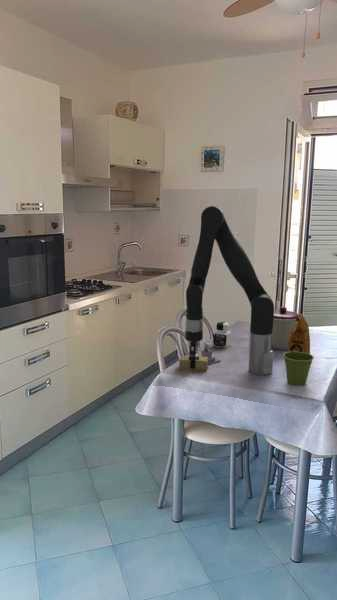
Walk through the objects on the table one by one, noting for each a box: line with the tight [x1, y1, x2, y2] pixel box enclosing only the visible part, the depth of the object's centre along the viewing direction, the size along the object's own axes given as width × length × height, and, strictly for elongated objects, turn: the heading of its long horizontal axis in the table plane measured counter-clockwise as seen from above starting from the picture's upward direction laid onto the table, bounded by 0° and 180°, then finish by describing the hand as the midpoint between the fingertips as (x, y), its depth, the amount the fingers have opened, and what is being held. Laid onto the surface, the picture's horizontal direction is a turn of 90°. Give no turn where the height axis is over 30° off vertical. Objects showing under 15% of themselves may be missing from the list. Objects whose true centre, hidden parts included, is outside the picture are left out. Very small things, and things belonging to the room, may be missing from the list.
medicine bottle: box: [212, 321, 232, 349], centre depth 235 cm, size 7×7×12 cm
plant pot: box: [282, 351, 315, 386], centre depth 184 cm, size 12×12×11 cm
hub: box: [197, 342, 221, 366], centre depth 210 cm, size 9×9×8 cm
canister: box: [272, 306, 300, 351], centre depth 231 cm, size 18×18×21 cm
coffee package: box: [287, 313, 311, 354], centre depth 206 cm, size 10×12×22 cm
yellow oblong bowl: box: [178, 355, 209, 372], centre depth 201 cm, size 12×6×4 cm, turn 82°
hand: (193, 365), depth 201 cm, fingers open, 7 cm apart
